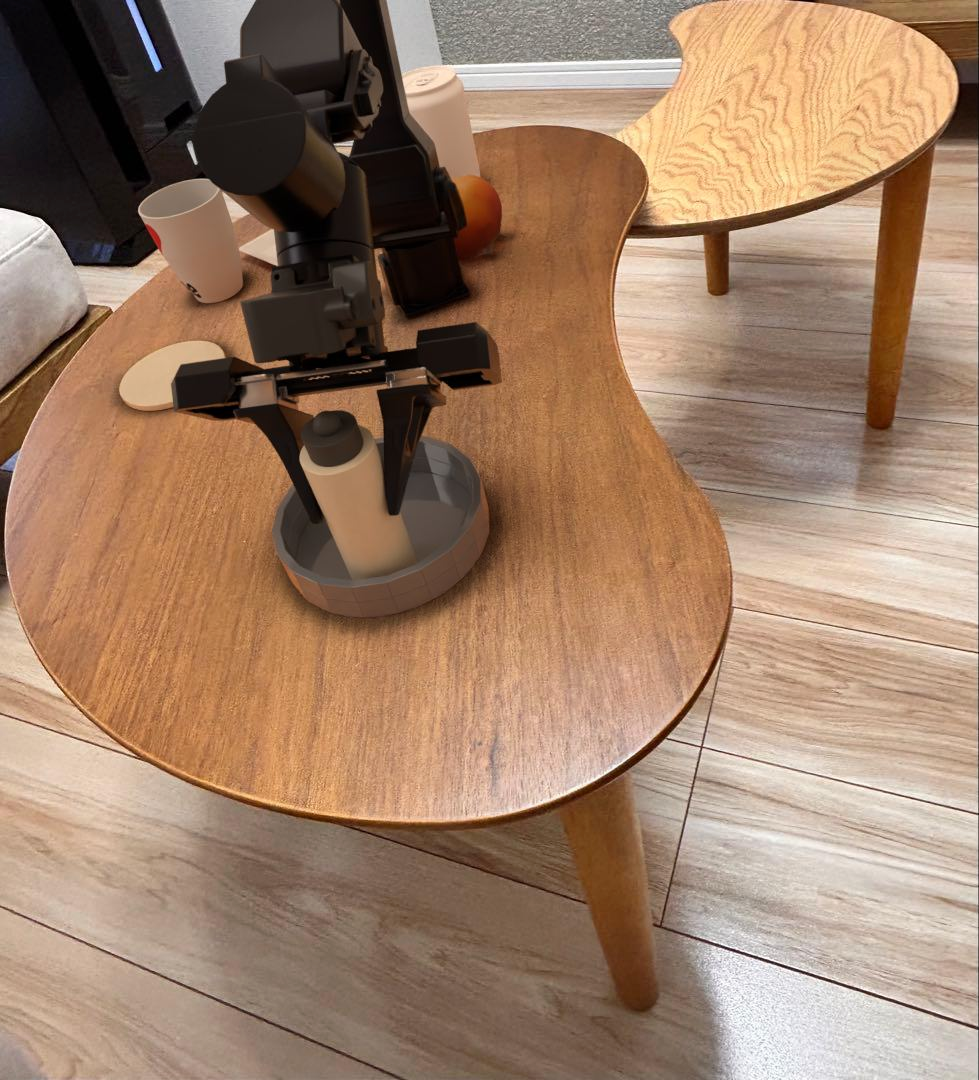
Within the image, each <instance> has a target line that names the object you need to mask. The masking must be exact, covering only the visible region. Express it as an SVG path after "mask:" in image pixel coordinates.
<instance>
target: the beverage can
mask: <svg viewBox="0 0 979 1080" xmlns="http://www.w3.org/2000/svg"><path fill="white" fill-rule="evenodd" d="M401 74H402V79H403V84H404V89H405V94H406V99H407V104H408V108H409V113H410V114H411V116H412V117H413V118H414V119H415V120H416V121H417V123H418V124H419V125H420V126H421V127H422V129H423V130H424V131H425V132H426V133H427V134H428V136H429V137H430V138H431V139H432V140H433V142H434V144H435V147H436V152H437V156H438V161H439V166H440V167H444V166H445V168H446V170H447V172H448V174H449V175H450V177H451V179H454V178H457V177H459V176H466V175H475V176H478V177H481V172H480V171H481V170H480V167H479V161H478V157H477V150H476V145H475V139H474V135H473V129H472V125H471V119H470V113H469V108H468V102H467V98H466V92H465V88H464V87H465V86H464V84H463V81H462V79H460V77H459V76H457V71H456V69H455V68H454V67H451V66H449V65H428V66H424V67H417V68H414V69H412V70H409V71H406V72H404V73H401ZM481 178H482V177H481Z"/></svg>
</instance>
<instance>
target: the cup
mask: <svg viewBox="0 0 979 1080" xmlns="http://www.w3.org/2000/svg"><path fill="white" fill-rule="evenodd" d="M137 209H138V210H137V212H138V214H139V216H140V218H141V220H142V221H143V223H144V225H145V227H146V230H147V231H148V232H149V235H150V236H151V238H152V240H153V242H154V244H155V245H156V247H157V249H158V251H159V252H160V254H161V255H162V257H163V258H164V260H165V261H166V262H167V265H168V266H169V267H170V268H171V270H172V271H173V273H174V274H175V276H176V277H177V279H178V280H179V281H180V283H181V284H182V285H183V286H184V287H185V288H186V289H187V291H188V292H190V293H191V295H192V296H193V297H194V298H195V299H196V300H197V301H198V302H200V303H203V304H215V303H219V302H220V303H221V302H222V301H226V300H228V299H230V298H232V297H234V296H235V295H236V294H238V293H239V292H240V291H241V289H242V288H243V286H244V280H243V266H242V257H241V254H240V253H241V252H240V251H239V248H240V247H239V244H238V240H237V236H236V231H235V226H234V223H233V220H232V218H231V215H230V212H229V209H228V206H227V202H226V200H225V197H224V194H223V191H222V190H220V189H219V188H218V187H217V186H215V185H214V184H213V183H212V182H211V181H210V180H209V179H208V178H194V179H193V178H192V179H188V180H182V181H180V182H175V183H172V184H170V185H167V186H165V187H163V188H160V189H158V190H156V191H155V192H153V193H152V194H150V195H148V196H147V197H145V198H144V200H142V202H140V204H139V206H138V208H137Z"/></svg>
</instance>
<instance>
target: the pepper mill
mask: <svg viewBox="0 0 979 1080" xmlns="http://www.w3.org/2000/svg"><path fill="white" fill-rule="evenodd" d="M301 439H302V441H303V443H304V446H303V448H302V450H301V452H300V463H301V466H302V468H303V470H304V472H305V475H306V477H307V479H308V481H309V484H310V486H311V488H312V490H313V493H314V495H315V497H316V499H317V502H318V504H319V506H320V508H321V511H322V513H323V515H324V517H325V520H326V522H327V524H328V526H329V529H330V531H331V533H332V535H333V538H334V540H335V542H336V544H337V547H338V549H339V551H340V553H341V556H342V558H343V560H344V562H345V565H346V567H347V569H348V571H349V574H350V576H351V578H352V580H360V579H367V578H374V577H381V576H387V575H390V574H392V573H395V572H397V571H400V570H403V569H405V568H408V567H410V566H413V565H416V564H418V561H417V558H416V555H415V552H414V550H413V547H412V544H411V541H410V538H409V535H408V533H407V530H406V527H405V524H404V521H403V518H402V516H401V513H399V515H396V516H390V515H389V513H388V507H387V501H386V494H385V477H384V465H383V462H382V459H381V456H380V453H379V451H378V448H377V445H376V442H375V439H376V438H375V437H374V435H373V433H372V432H371V431H370V430H369V429H368V428H367V427H365V426H362V425H360V424H358V420H357V418H356V417H355V415H354V414H353V413H351V412H349V411H346V410H341V409H335V410H334V409H333V410H322V411H319V412H318V413H317V414H316V415H314V418H312V419H311V420H310V421H308V422H307V423H306V425H305V426H304V427H303V429H302V432H301Z"/></svg>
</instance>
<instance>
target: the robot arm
mask: <svg viewBox="0 0 979 1080" xmlns="http://www.w3.org/2000/svg"><path fill="white" fill-rule="evenodd" d="M388 6H389V5H388V2H387V0H255V1H254V2H253V4H252V5H251V8H250V9H249V11H248V12H247V14H246V16H245V18H244V19H243V21H242V23H241V25H240V28H239V57H238V58H233V59H232V58H231V59H229V60H228V59H227V60H225V61H224V62H223V66H224V67H223V69H224V76H225V84H223V85H221V86H220V87H219V88H218V89H217V90H216V91H215V92H214V93H212V94H211V95H210V97H209V98H208V99H207V101H206V102H205V104H204V105H203V106H202V108H201V111H200V113H199V115H198V117H197V120H196V124H195V130H194V131H193V132H192V135H191V136H192V137H191V138H192V148H193V149H192V150H193V153H194V156H195V160H196V163H197V164H198V166H199V168H200V170H201V172H202V173H203V175H204V176H205V177H206V179H209V180H210V181H211V182H212V183H213V184H214V185H215V186H217V187H218V188H219V189H220V190H221V191H222V193H224V194H225V195H226V196H227V197H228V198H230V199H231V200H232V201H234V202H235V203H236V204H237V205H238V206H240V207H241V208H242V209H243V210H244V211H246V212H247V213H249V214H250V215H251V216H252V217H253V218H254V219H256V220H257V221H258V222H259V223H261V224H262V225H264V226H265V227H267V228H269V229H270V230H271V229H274V235H275V244H276V253H277V262H278V266H271V267H270V271H271V274H270V286H271V291H270V292H268V293H264V294H261V295H257V296H254V297H251V298H247V299H244V300H241V301H240V302H239V303H240V304H239V305H240V309H241V311H242V316H243V320H244V324H245V328H246V332H247V337H248V340H249V344H250V349H251V353H252V357H253V361H254V363H256V364H266V363H275V362H276V361H278V362H281V361H282V362H283V361H288V365H284V366H276V367H270V368H263V367H260V366H258V365H255V364H253V363H251V362H248V361H246V360H243V359H241V358H238V357H236V356H230V357H226V358H222V359H215V360H208V361H201V362H194V363H187V364H181V365H180V367H179V369H178V371H177V373H176V374H175V377H174V379H173V381H172V383H171V389H172V398H173V407H172V408H173V412H175V413H178V414H184V415H187V416H192V417H195V418H200V419H204V420H209V421H213V422H225V421H226V422H227V421H234V420H235V421H236V420H237V421H240V422H244V423H248V424H252V425H255V426H256V427H257V428H258V429H259V430H260V431H261V432H262V433H263V435H264V436H265V437H266V438H267V440H268V441H269V442H270V444H271V446H272V447H273V449H274V450H275V452H276V454H277V455H278V457H279V459H280V460H281V463H282V464H283V466H284V467H285V470H286V472H287V474H288V476H289V478H290V480H291V483H292V485H294V487H295V489H296V491H297V493H298V495H299V497H300V500H301V502H302V504H303V506H304V508H305V510H306V512H307V514H308V516H309V518H310V521H311V522H312V524H323V522H324V515H323V513H322V511H321V508H320V506H319V504H318V502H317V499H316V497H315V495H314V493H313V490H312V488H311V486H310V484H309V481H308V479H307V477H306V475H305V472H304V470H303V468H302V466H301V463H300V452H301V450H302V448H303V446H304V443H303V441H302V439H301V432H302V429H303V427H304V426H305V425H306V423H307V422H308V421H310V420H311V419H312V418H314V417H315V415H313V414H311V413H307V412H305V411H302V410H299V403H300V397H302V396H304V397H305V396H311V395H320V394H325V393H333V392H334V393H335V392H341V391H348V390H356V389H364V388H371V387H377V386H385V385H386V386H387V387H389V388H380V389H376V396H377V400H378V405H379V410H380V414H381V420H382V427H383V428H382V430H383V431H382V432H383V434H382V437H383V438H384V477H385V494H386V501H387V507H388V513H389V515H390V516H396V515H399V513H400V509H401V505H402V502H403V498H404V494H405V490H406V486H407V482H408V478H409V475H410V471H411V467H412V463H413V460H414V456H415V452H416V449H417V446H418V443H419V441H420V438H421V436H423V433H424V430H425V429H426V426H427V423H428V420H429V418H430V415H431V413H432V411H433V409H435V408H438V407H444V406H446V405H447V404H448V403H447V402H448V401H447V396H446V395H445V394H443V391H442V384H443V383H444V384H445V385H446V386H448V387H449V388H450V389H451V390H452V391H458V390H459V391H461V390H469V389H475V388H476V389H477V388H482V387H490V386H496V385H500V384H503V378H502V368H501V358H500V353H499V348H498V344H497V343H496V341H495V340H494V339H493V337H492V336H491V333H490V332H489V331H488V330H487V329H486V328H484V327H483V326H482V325H481V324H480V323H478V322H477V321H473V322H466V323H459V324H451V325H446V326H438V327H432V328H431V327H430V328H425V329H418V330H417V332H416V339H415V340H416V341H415V347H412V348H411V347H410V348H404V349H398V350H389V348H388V347H387V346H386V345H385V335H384V326H383V321H384V320H385V318H386V309H385V303H384V297H383V293H382V286H381V281H380V280H379V278H378V272H377V263H376V258H377V262H378V265H379V268H380V272H381V275H382V279H383V282H384V285H385V289H386V293H387V294H388V296H389V298H390V300H391V302H392V304H393V305H394V306H396V307H399V309H400V311H401V312H402V314H403V316H404V317H405V318H406V319H412V318H414V317H417V316H421V315H422V314H426V313H429V312H432V311H435V310H437V309H440V308H443V307H446V306H449V305H451V304H455V303H458V302H460V301H462V300H466V299H468V298H470V297H471V295H472V294H471V290H470V288H469V287H468V286H467V284H466V283H465V281H464V277H463V274H462V268H461V265H460V261H459V259H458V255H457V250H456V246H455V241H454V238H457V237H458V234H459V231H461V230H462V229H463V228H465V227H467V219H466V214H465V210H464V205H463V202H462V199H461V197H460V194H459V191H458V189H457V186H456V184H455V183H454V182H453V181H452V179H451V177H450V175H449V174H448V172H447V170H446V168H445V166H444V167H440V166H439V161H438V156H437V152H436V147H435V144H434V142H433V140H432V139H431V138H430V137H429V136H428V134H427V133H426V132H425V131H424V130H423V129H422V127H421V126H420V125H419V124H418V123H417V121H416V120H415V119H414V118H413V117H412V116H411V114H410V113H409V108H408V104H407V99H406V94H405V89H404V84H403V79H402V74H403V73H402V71H401V65H400V60H399V55H398V50H397V46H396V39H395V35H394V31H393V30H394V29H393V26H392V21H391V16H390V10H389V7H388ZM348 142H352V145H351V149H350V152H349V155H348V156H347V155H346V154H344V153H342V152H339V151H338V150H337V148H336V146H335V145H337V144H341V143H348ZM380 249H381V253H378V255H377V257H376V255H375V250H380Z"/></svg>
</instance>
